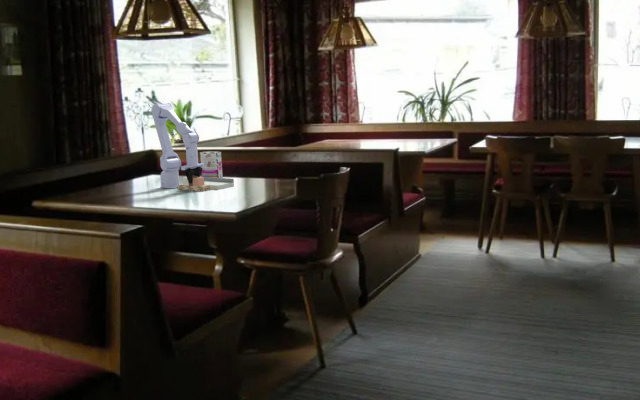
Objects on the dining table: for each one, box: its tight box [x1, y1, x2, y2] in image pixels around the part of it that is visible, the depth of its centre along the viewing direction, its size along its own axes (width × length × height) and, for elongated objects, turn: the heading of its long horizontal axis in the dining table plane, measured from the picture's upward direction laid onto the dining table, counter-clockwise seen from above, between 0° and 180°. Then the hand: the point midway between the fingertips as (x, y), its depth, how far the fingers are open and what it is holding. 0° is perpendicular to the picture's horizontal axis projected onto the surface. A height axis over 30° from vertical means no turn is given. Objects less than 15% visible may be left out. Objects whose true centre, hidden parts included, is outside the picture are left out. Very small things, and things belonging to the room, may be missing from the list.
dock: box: [200, 175, 235, 190], centre depth 362 cm, size 24×12×4 cm, turn 55°
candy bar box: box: [199, 151, 224, 178], centre depth 381 cm, size 11×5×16 cm, turn 68°
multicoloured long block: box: [177, 175, 211, 192], centre depth 352 cm, size 18×5×7 cm, turn 55°
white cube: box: [182, 176, 189, 185], centre depth 354 cm, size 4×4×4 cm
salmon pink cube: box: [193, 177, 204, 186], centre depth 350 cm, size 4×4×4 cm
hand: (193, 182), depth 352 cm, fingers closed on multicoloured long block, 4 cm apart
